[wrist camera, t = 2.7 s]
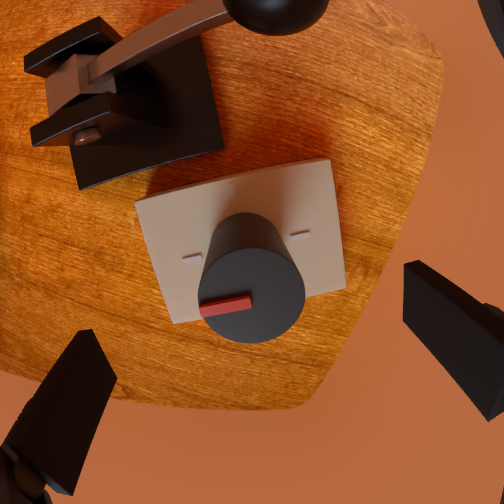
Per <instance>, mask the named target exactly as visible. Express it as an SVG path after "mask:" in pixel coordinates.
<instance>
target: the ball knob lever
mask: <svg viewBox="0 0 504 504" xmlns="http://www.w3.org/2000/svg"><path fill="white" fill-rule="evenodd" d="M328 3H329V0H194V1H192V2H190V3H188V4H186V5H184V6H182V7H179V8H177V9H175V10H173V11H171V12H169V13H167V14H166V15H164V16H162V17H160V18H158V19H156V20H154V21H153V22H151V23H149V24H147V25H145V26H144V27H142V28H140V29H139V30H137V31H135V32H134V33H132V34H130V35H129V36H127V37H125V38H124V39H122V40H121V41H119V42H118V43H116V44H115V45H113V46H112V47H110V48H109V49H107V50H106V51H104V52H103V53H101V54H100V55H92V54H80V53H75V54H73V55H72V56H71V57H70V58H68V59H67V60H66V61H65V62H64V63H63V64H62V65H60V66H59V67H58V68H57V69H56V70H55V71H54V72H53V73H52V74H51V75H49V76H48V77H47V78H46V79H45V86H46V96H47V105H48V112H49V117H51V116H53V115H55V114H57V113H59V112H61V111H63V110H65V109H67V108H69V107H71V106H73V105H76V104H78V103H80V102H82V101H85V100H87V99H89V98H91V97H94V96H96V95H99V94H101V93H104V92H106V91H110V92H112V93H114V94H116V93H117V92H116V86H115V80H114V77H116V76H117V75H119V74H121V73H123V72H124V71H126V70H128V69H129V68H131V67H133V66H135V65H137V64H138V63H140V62H142V61H144V60H146V59H148V58H150V57H152V56H153V55H155V54H157V53H159V52H161V51H163V50H165V49H168V48H170V47H172V46H174V45H176V44H178V43H180V42H183V41H185V40H187V39H189V38H192V37H194V36H196V35H199V34H201V33H204V32H206V31H209V30H211V29H214V28H216V27H219V26H222V25H224V24H227V23H230V22H233V21H236V22H237V23H238V24H240V25H241V26H243V27H245V28H246V29H248V30H250V31H253V32H255V33H259V34H263V35H268V36H286V35H292V34H295V33H299V32H301V31H304V30H306V29H307V28H309V27H311V26H312V25H314V24H315V23H316V22H317V21H318V20H319V19H320V18H321V17H322V15H323V14H324V12H325V11H326V9H327V6H328Z"/></svg>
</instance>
